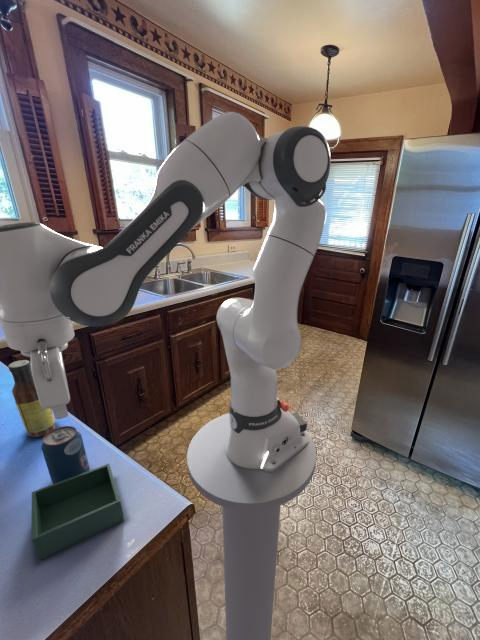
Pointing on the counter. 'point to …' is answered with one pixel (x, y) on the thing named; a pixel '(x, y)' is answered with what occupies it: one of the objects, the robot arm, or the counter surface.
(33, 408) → the sauce bottle
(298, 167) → the robot arm
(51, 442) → the soda can
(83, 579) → the counter surface
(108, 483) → the bin
